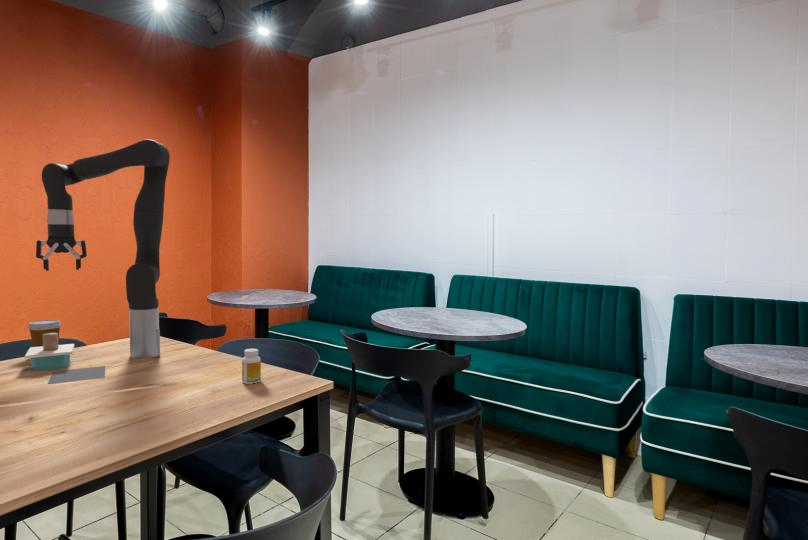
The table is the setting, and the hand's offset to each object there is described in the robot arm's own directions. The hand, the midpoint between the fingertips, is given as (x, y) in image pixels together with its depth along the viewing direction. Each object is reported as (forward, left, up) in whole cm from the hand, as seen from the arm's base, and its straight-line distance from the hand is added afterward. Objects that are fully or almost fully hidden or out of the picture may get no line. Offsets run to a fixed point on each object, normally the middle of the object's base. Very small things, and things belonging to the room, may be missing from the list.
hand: (62, 270), depth 171 cm
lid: (+3, +14, -25) cm, 29 cm away
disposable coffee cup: (+6, -4, -30) cm, 31 cm away
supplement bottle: (-50, +58, -30) cm, 82 cm away
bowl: (+3, +14, -30) cm, 33 cm away
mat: (-5, +29, -30) cm, 42 cm away
